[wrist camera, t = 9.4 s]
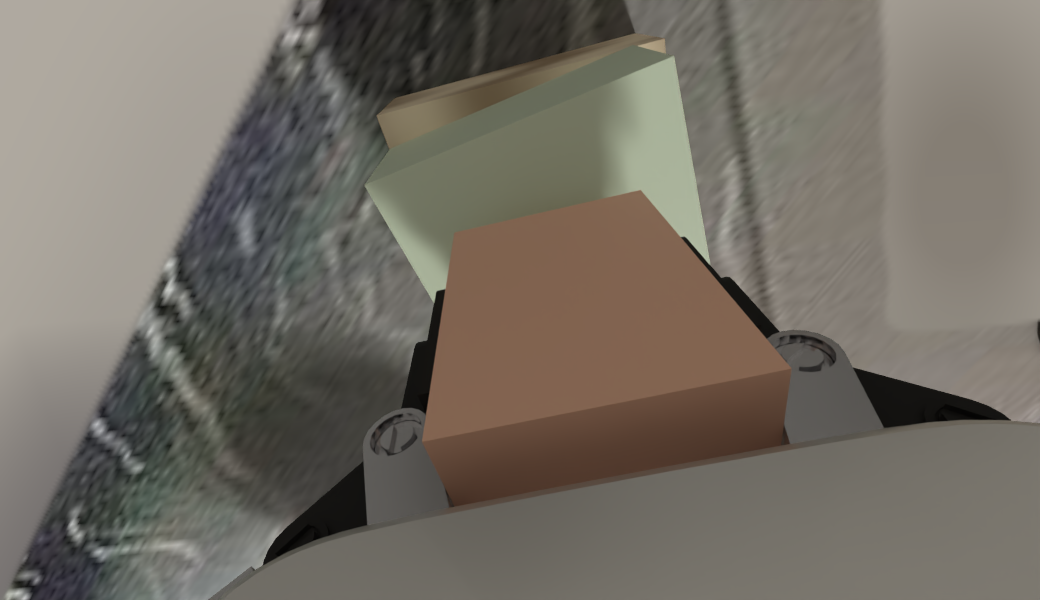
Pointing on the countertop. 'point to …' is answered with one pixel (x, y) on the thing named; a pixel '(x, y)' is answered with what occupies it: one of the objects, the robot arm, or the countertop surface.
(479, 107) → the bottom block
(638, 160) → the top block
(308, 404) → the countertop surface
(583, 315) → the terracotta block
